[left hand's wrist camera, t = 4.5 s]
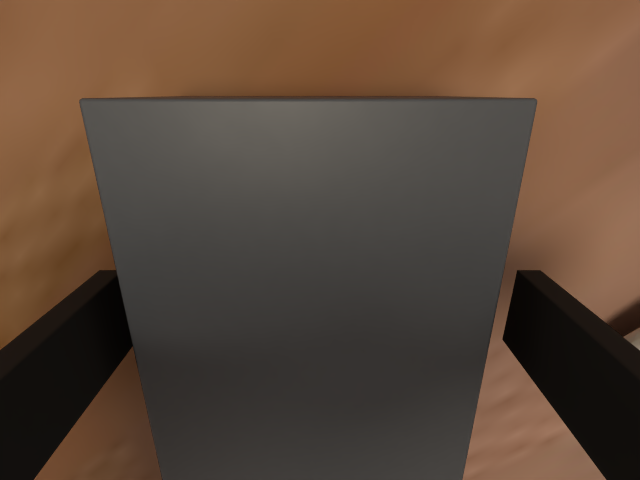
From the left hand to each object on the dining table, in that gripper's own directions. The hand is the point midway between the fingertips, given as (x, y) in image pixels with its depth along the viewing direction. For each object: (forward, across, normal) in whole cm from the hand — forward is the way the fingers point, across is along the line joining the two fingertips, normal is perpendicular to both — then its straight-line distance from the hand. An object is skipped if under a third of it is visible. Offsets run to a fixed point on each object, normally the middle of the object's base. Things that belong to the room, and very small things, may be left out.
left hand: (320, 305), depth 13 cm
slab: (+4, 0, -33) cm, 33 cm away
